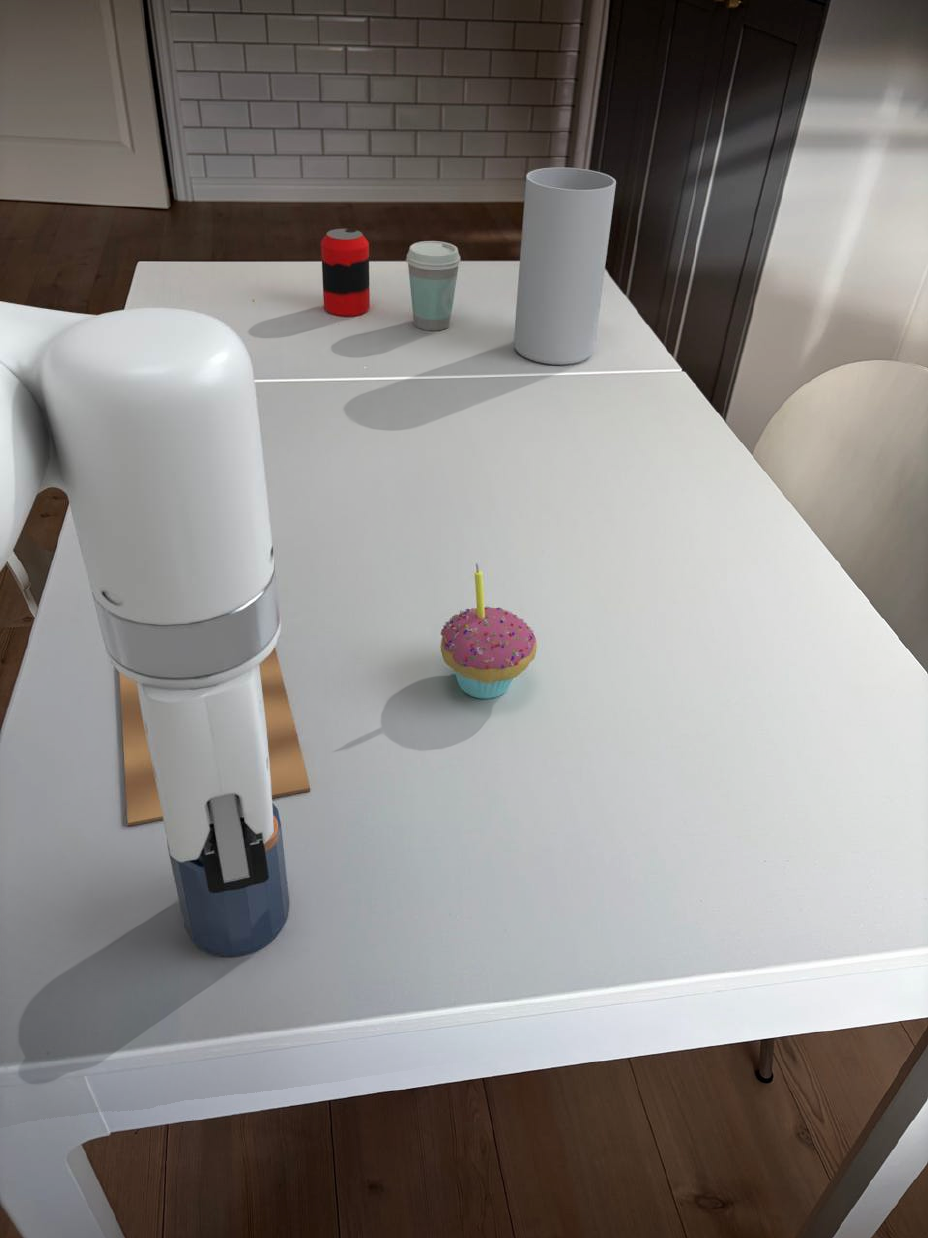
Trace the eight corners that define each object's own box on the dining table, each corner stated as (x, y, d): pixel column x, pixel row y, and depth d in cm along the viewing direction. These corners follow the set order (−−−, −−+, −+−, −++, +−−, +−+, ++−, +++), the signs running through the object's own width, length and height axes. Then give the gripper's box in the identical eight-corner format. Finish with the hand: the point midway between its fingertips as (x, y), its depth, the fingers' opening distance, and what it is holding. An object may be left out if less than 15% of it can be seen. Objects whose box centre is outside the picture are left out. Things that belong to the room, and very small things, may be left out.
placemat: (310, 791, 79) (310, 787, 79) (128, 826, 76) (127, 823, 75) (245, 529, 109) (245, 526, 109) (112, 546, 106) (111, 542, 105)
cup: (246, 974, 66) (233, 890, 61) (162, 929, 69) (142, 843, 63) (309, 896, 71) (301, 812, 66) (228, 856, 74) (215, 772, 68)
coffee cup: (446, 337, 155) (449, 260, 148) (396, 328, 158) (397, 251, 150) (466, 319, 162) (469, 244, 155) (417, 310, 164) (419, 236, 157)
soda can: (377, 305, 165) (376, 231, 158) (357, 320, 160) (355, 243, 152) (336, 297, 167) (334, 224, 160) (315, 312, 162) (311, 236, 154)
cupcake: (419, 677, 91) (421, 569, 83) (486, 640, 95) (494, 535, 88) (484, 727, 86) (492, 617, 78) (551, 685, 91) (565, 578, 83)
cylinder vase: (545, 372, 146) (563, 194, 131) (497, 343, 154) (508, 172, 139) (610, 357, 152) (634, 184, 137) (560, 329, 160) (578, 163, 145)
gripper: (96, 529, 47) (158, 792, 59) (103, 742, 36) (178, 1017, 47) (254, 508, 49) (284, 766, 60) (307, 704, 38) (333, 977, 49)
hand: (237, 876), depth 54 cm, fingers closed
